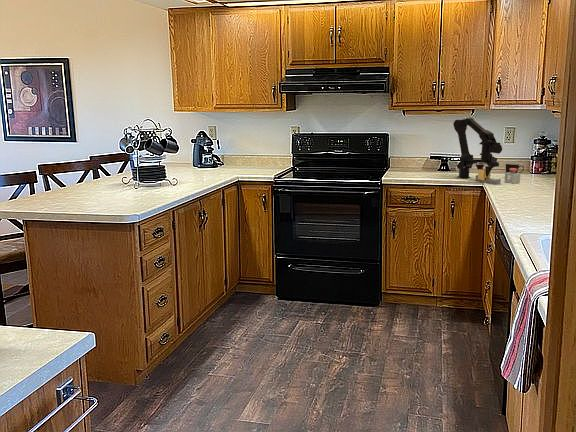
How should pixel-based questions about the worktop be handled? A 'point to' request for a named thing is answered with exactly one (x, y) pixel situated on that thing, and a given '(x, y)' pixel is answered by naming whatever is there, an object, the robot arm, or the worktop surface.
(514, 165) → the coffee mug
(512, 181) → the grey block
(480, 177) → the carriage
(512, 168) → the plunger
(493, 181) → the rail
